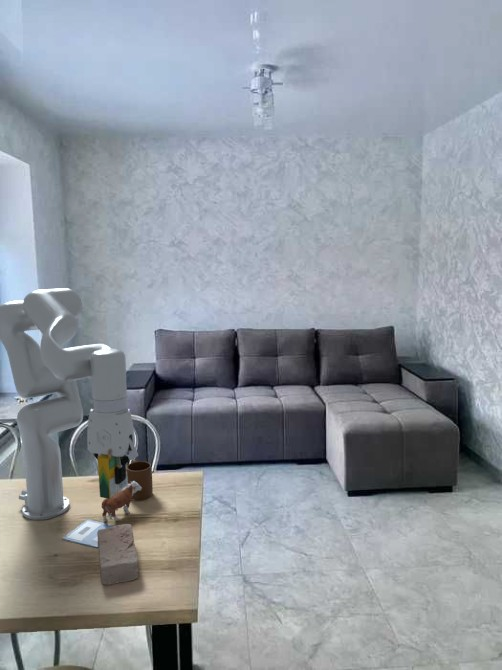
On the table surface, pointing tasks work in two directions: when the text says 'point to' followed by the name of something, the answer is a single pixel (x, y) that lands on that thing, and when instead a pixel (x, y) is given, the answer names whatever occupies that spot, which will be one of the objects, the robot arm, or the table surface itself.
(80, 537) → the plan sheet
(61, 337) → the robot arm
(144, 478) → the mug
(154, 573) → the table surface
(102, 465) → the crayon box
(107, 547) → the brick
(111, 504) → the bull figurine
